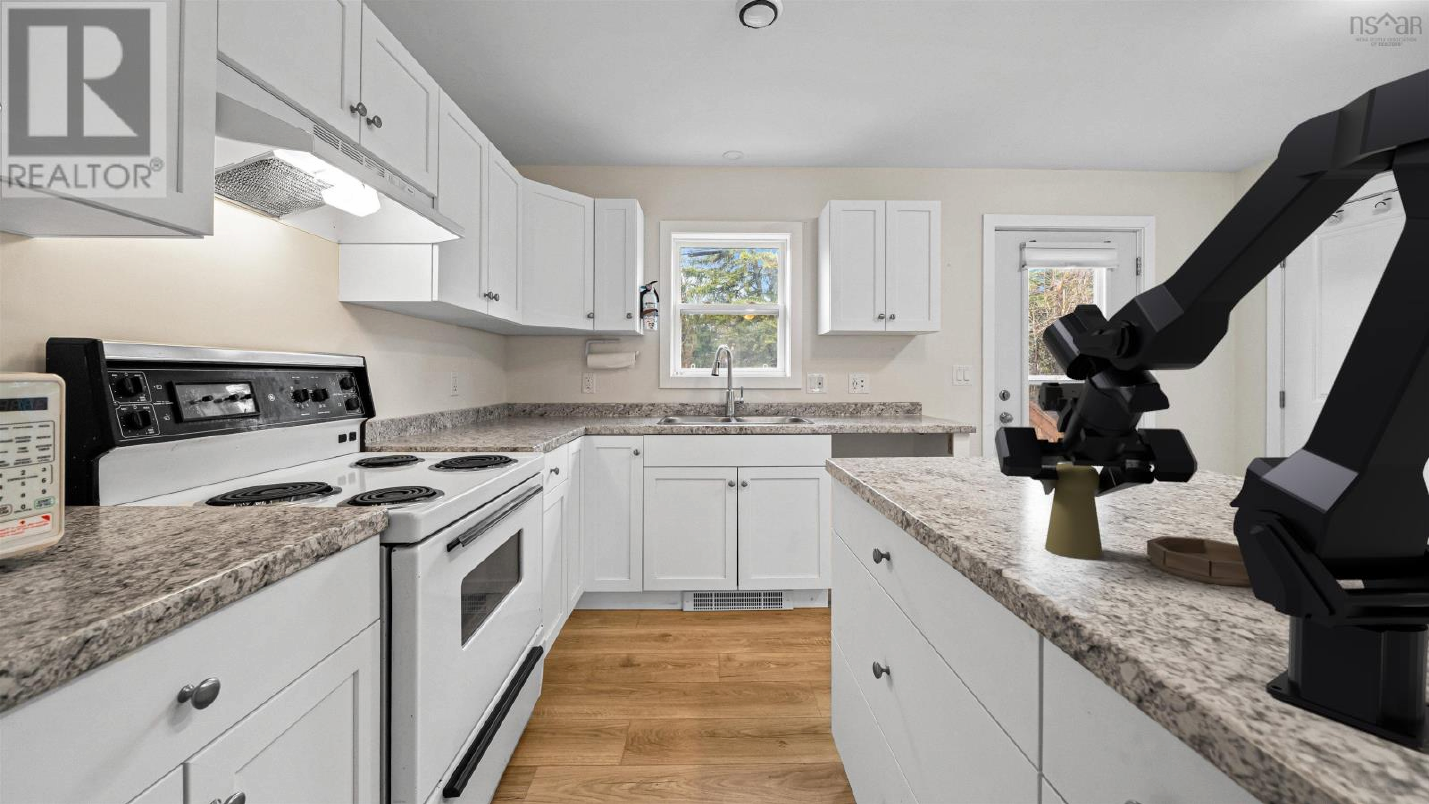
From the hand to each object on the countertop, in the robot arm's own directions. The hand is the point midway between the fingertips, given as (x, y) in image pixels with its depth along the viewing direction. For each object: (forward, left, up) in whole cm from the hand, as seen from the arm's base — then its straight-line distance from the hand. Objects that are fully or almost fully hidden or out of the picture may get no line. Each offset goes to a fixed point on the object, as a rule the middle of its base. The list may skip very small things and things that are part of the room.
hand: (1070, 492), depth 68 cm
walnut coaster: (+5, -12, -7) cm, 15 cm away
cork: (-1, -1, -7) cm, 7 cm away
